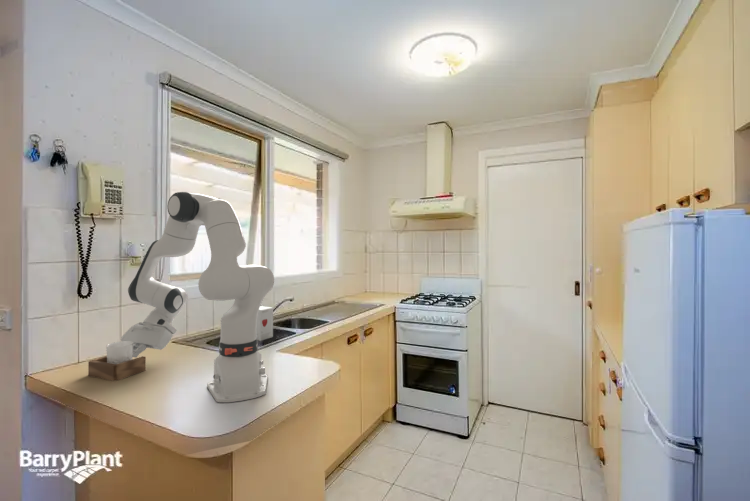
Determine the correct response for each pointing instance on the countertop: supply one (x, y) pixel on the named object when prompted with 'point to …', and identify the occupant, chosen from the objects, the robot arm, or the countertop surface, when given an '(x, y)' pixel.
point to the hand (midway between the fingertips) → (131, 356)
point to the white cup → (119, 352)
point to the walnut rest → (115, 368)
